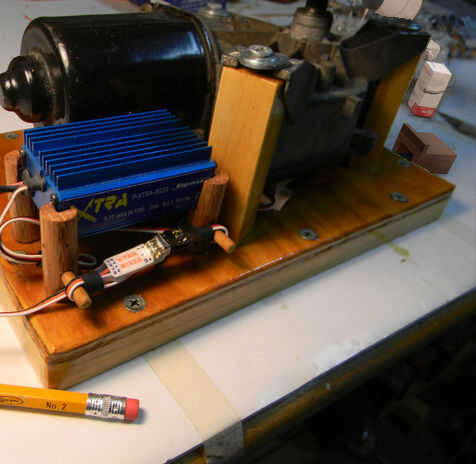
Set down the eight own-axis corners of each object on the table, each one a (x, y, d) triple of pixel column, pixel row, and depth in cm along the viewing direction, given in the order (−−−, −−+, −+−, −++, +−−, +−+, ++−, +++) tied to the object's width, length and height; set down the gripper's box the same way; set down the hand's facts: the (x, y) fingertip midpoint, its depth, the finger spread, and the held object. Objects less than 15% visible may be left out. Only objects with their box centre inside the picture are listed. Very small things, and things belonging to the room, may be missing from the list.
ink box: (432, 118, 123) (453, 74, 116) (413, 115, 124) (433, 71, 116) (425, 105, 130) (444, 63, 122) (406, 102, 130) (425, 60, 123)
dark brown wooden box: (424, 150, 108) (437, 124, 104) (447, 173, 101) (462, 146, 97) (392, 148, 108) (403, 122, 103) (412, 172, 100) (425, 144, 96)
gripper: (363, 27, 137) (382, 42, 126) (428, 32, 139) (453, 48, 128) (355, 49, 141) (374, 66, 130) (419, 54, 143) (443, 71, 132)
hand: (414, 57), depth 129 cm, fingers open, 8 cm apart
